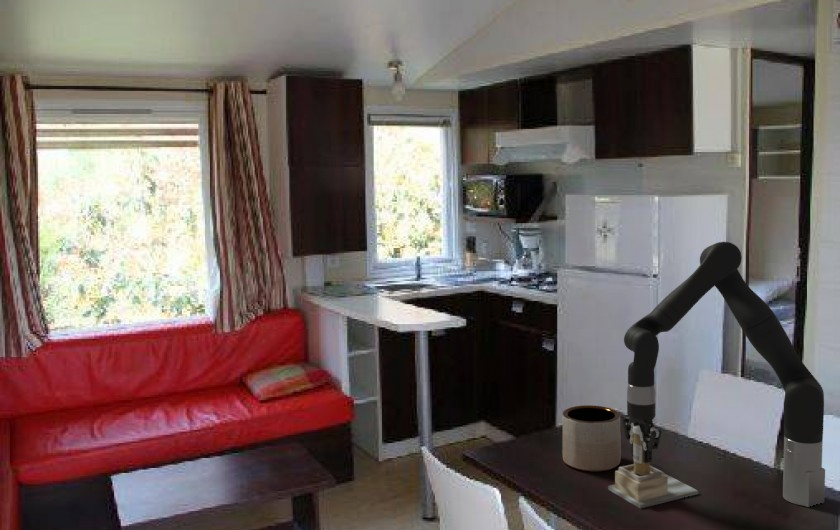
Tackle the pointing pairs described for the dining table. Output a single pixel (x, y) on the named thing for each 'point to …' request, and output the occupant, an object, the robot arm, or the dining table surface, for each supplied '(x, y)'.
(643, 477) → the build base
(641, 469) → the sprinkles bottle
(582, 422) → the planter
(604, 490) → the dining table surface
